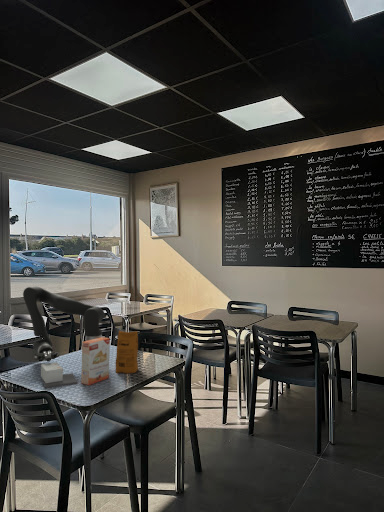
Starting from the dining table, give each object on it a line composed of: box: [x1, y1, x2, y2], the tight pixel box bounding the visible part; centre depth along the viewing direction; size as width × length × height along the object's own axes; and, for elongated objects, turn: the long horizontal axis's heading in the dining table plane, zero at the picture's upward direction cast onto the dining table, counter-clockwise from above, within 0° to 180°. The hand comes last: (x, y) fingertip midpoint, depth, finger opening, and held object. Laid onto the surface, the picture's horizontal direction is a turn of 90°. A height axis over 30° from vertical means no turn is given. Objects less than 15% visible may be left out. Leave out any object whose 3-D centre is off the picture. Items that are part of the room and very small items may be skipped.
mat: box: [41, 372, 78, 389], centre depth 184 cm, size 15×14×1 cm
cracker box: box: [80, 336, 111, 386], centre depth 185 cm, size 14×6×21 cm, turn 148°
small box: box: [40, 362, 64, 383], centre depth 184 cm, size 8×6×13 cm
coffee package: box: [115, 330, 139, 374], centre depth 201 cm, size 10×12×22 cm
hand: (48, 359), depth 188 cm, fingers closed
